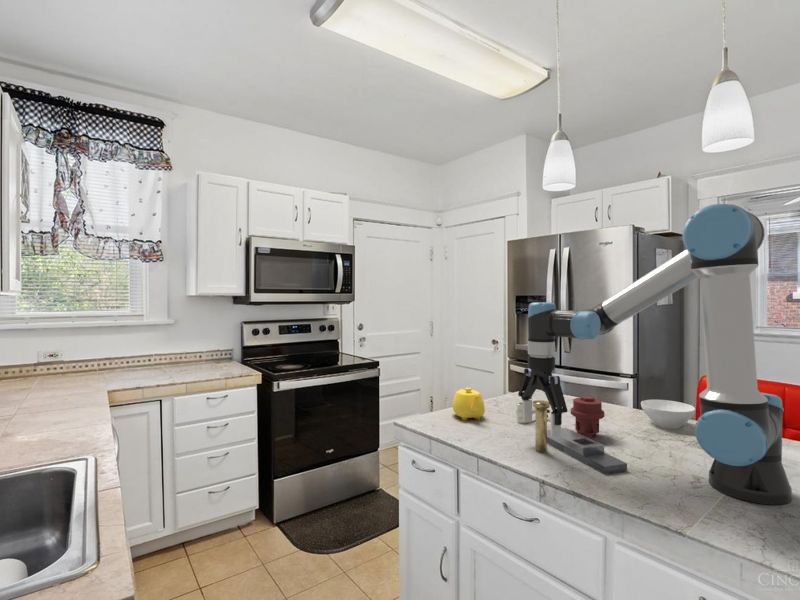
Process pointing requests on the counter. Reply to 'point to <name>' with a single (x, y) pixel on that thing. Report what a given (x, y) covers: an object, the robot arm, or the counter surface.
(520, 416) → the valve
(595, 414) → the mechanical component
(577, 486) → the counter surface
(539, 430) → the brass knob
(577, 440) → the plate with square socket
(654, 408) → the bowl
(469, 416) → the teapot
